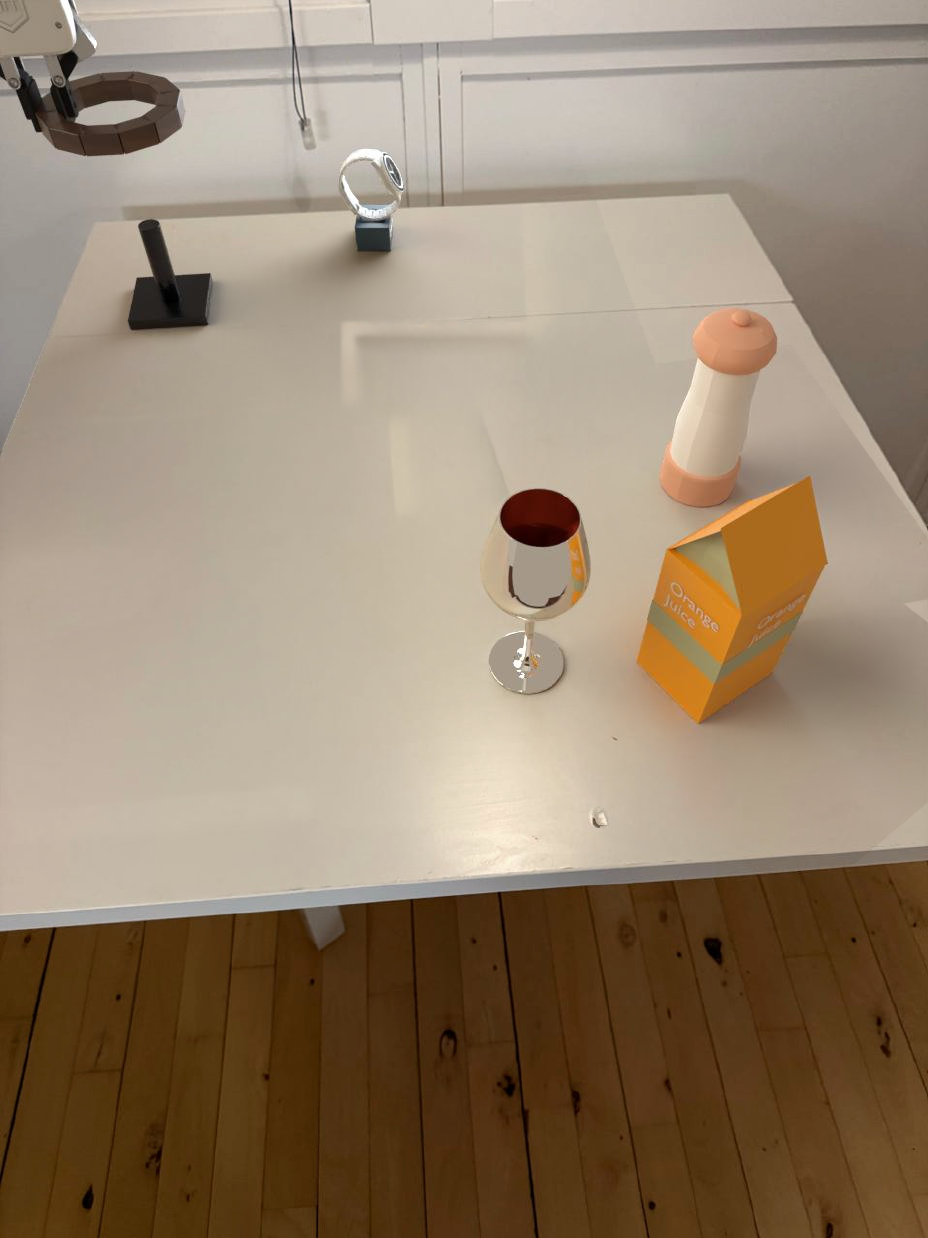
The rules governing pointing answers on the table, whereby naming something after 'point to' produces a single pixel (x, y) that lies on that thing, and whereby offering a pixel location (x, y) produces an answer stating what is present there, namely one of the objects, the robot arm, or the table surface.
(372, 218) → the watch
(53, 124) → the ring
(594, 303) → the table surface
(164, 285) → the post
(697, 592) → the orange juice
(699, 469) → the pepper shaker
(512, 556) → the wineglass
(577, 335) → the table surface
